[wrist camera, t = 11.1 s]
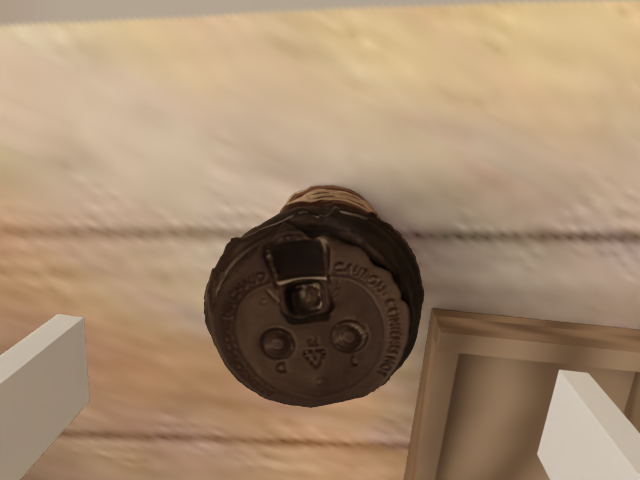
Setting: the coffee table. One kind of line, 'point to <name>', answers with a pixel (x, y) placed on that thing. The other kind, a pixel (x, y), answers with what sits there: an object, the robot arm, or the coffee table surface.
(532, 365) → the box
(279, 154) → the coffee table surface
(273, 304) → the coffee cup
